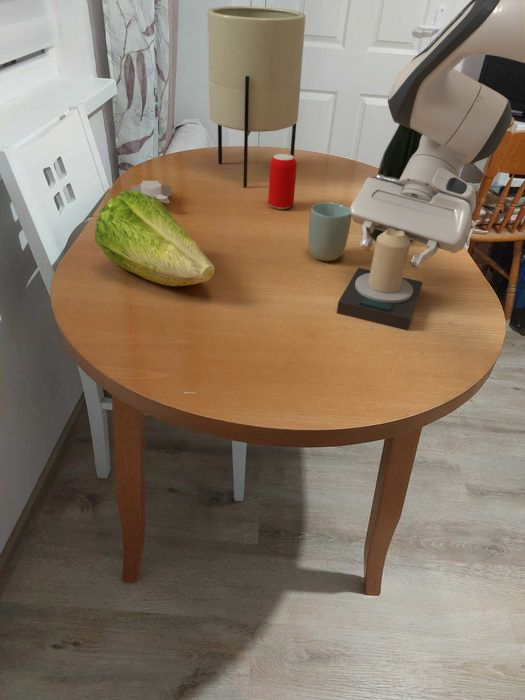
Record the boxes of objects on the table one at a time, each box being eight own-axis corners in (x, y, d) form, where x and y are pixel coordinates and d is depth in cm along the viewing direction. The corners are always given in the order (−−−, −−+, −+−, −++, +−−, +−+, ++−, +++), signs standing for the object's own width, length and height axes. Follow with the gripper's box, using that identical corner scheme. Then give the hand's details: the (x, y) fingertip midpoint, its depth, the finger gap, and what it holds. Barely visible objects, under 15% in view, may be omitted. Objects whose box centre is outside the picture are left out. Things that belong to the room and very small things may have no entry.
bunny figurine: (169, 176, 129) (172, 189, 116) (171, 197, 131) (174, 212, 118) (130, 177, 127) (129, 190, 114) (132, 198, 130) (131, 213, 117)
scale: (420, 292, 95) (423, 278, 93) (407, 330, 84) (411, 315, 83) (356, 277, 98) (358, 264, 97) (336, 312, 88) (338, 298, 86)
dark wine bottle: (414, 249, 110) (456, 75, 91) (365, 242, 112) (395, 71, 92) (413, 230, 119) (450, 68, 99) (367, 224, 120) (395, 63, 101)
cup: (331, 246, 109) (337, 200, 103) (351, 261, 104) (359, 213, 98) (299, 251, 106) (303, 204, 100) (318, 268, 101) (324, 219, 95)
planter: (201, 187, 138) (195, 14, 114) (220, 157, 157) (218, 3, 133) (288, 195, 137) (301, 21, 112) (296, 164, 155) (309, 9, 131)
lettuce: (241, 292, 94) (177, 329, 85) (156, 240, 106) (92, 269, 97) (242, 220, 84) (170, 254, 76) (148, 172, 96) (77, 197, 87)
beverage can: (294, 211, 125) (298, 160, 118) (268, 210, 124) (271, 159, 117) (291, 202, 130) (295, 152, 122) (267, 201, 129) (269, 152, 122)
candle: (362, 280, 91) (372, 227, 86) (388, 276, 93) (399, 223, 87) (379, 295, 87) (390, 240, 82) (406, 290, 89) (419, 236, 83)
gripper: (366, 161, 89) (330, 231, 89) (484, 190, 80) (444, 268, 79) (374, 181, 95) (339, 247, 94) (484, 210, 85) (447, 284, 85)
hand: (388, 257), depth 87 cm, fingers open, 8 cm apart
